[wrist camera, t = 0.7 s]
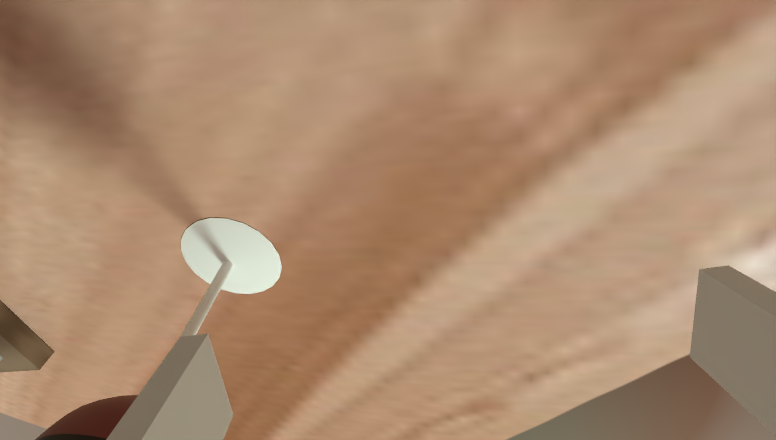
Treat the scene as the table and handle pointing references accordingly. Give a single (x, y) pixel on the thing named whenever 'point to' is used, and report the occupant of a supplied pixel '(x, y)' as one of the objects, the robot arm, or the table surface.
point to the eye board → (20, 345)
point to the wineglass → (222, 271)
